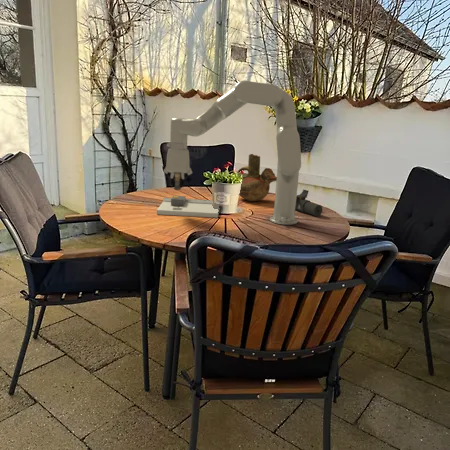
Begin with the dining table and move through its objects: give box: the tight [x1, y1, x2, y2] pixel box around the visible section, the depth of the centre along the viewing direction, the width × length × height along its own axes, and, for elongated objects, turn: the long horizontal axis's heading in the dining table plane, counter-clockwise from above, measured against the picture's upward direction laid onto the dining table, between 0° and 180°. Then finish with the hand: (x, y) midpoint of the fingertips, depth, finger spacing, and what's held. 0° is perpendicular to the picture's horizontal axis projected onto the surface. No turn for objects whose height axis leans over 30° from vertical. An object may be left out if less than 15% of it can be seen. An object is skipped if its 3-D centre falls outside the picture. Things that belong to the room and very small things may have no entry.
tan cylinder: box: [173, 172, 182, 191], centre depth 192 cm, size 3×3×8 cm
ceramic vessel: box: [237, 153, 277, 202], centre depth 227 cm, size 17×26×25 cm, turn 61°
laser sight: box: [295, 189, 323, 217], centre depth 212 cm, size 10×22×10 cm, turn 32°
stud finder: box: [170, 195, 187, 206], centre depth 205 cm, size 8×6×3 cm
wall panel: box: [156, 197, 220, 218], centre depth 203 cm, size 24×28×4 cm
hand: (177, 186), depth 193 cm, fingers closed on tan cylinder, 3 cm apart
